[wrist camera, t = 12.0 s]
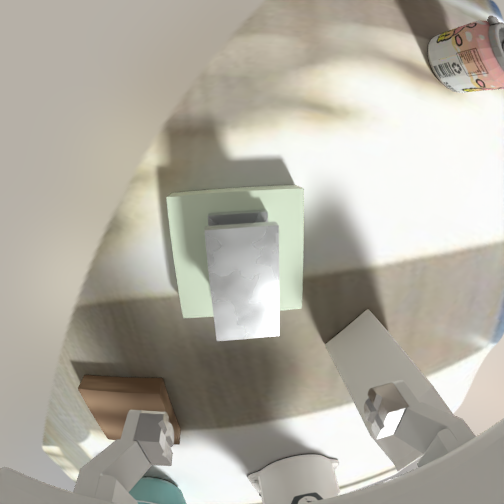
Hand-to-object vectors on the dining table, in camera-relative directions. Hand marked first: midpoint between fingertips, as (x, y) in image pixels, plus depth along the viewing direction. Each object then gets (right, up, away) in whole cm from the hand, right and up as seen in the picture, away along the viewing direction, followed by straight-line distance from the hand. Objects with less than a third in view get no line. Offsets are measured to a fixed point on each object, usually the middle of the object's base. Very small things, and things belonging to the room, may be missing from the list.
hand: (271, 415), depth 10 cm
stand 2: (-2, +7, +19) cm, 21 cm away
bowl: (-22, -45, +35) cm, 61 cm away
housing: (-2, +6, +17) cm, 18 cm away
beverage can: (+25, +31, +14) cm, 42 cm away
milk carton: (+13, -5, +25) cm, 29 cm away
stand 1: (-18, -16, +26) cm, 35 cm away
